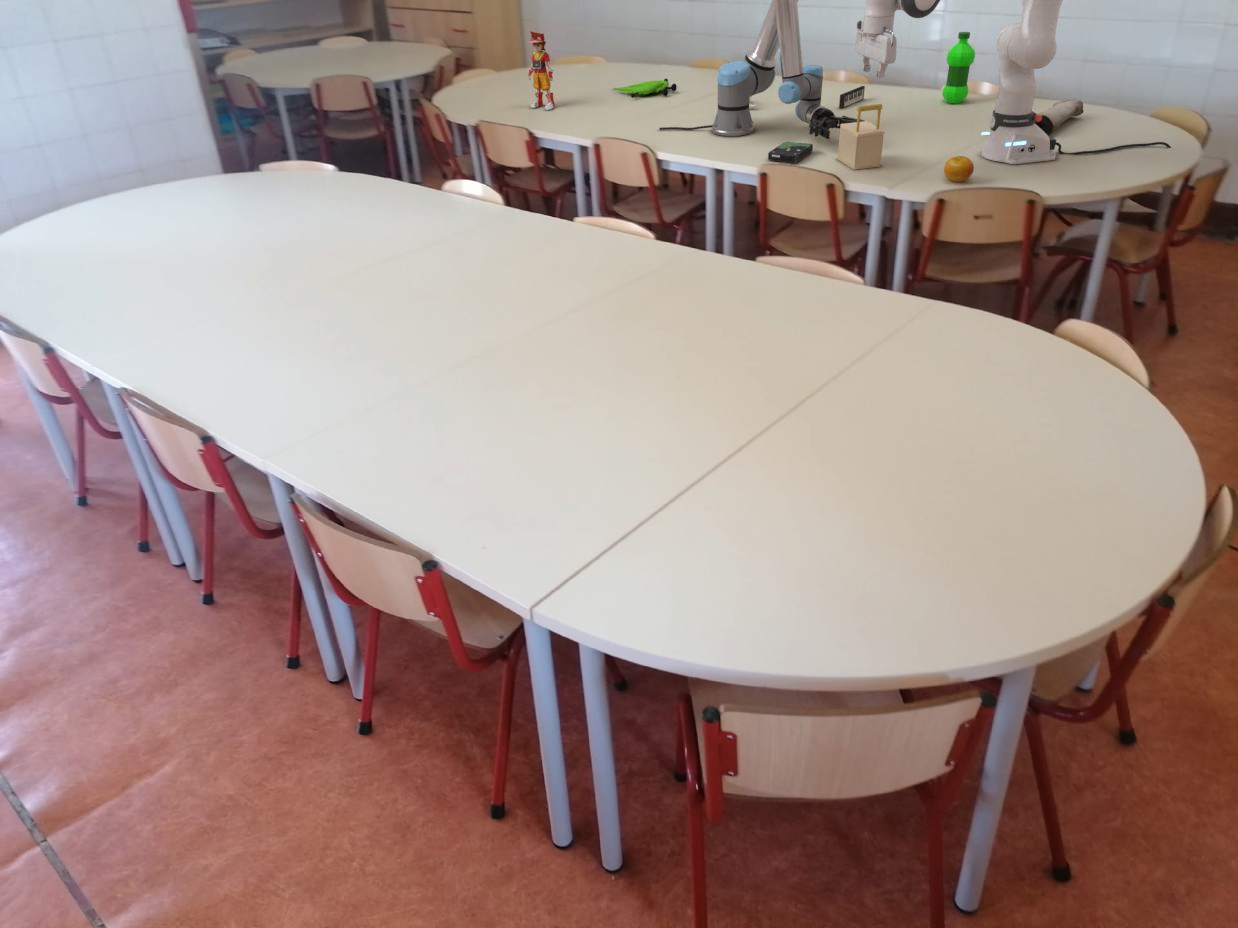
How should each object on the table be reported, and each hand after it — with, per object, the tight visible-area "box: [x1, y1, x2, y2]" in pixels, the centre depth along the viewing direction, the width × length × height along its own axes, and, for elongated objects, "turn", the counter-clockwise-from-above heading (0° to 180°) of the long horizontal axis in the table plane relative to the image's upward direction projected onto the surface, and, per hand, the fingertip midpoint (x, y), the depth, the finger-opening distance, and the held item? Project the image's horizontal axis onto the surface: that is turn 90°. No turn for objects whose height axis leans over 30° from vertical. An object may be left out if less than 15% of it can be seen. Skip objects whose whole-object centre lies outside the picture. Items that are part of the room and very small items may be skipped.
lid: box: [840, 103, 886, 137], centre depth 289 cm, size 13×9×9 cm
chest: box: [837, 127, 885, 171], centre depth 294 cm, size 13×9×10 cm
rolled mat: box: [1035, 99, 1084, 136], centre depth 319 cm, size 30×9×10 cm
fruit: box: [943, 155, 975, 183], centre depth 275 cm, size 8×8×8 cm
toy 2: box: [612, 78, 677, 99], centre depth 396 cm, size 28×5×30 cm
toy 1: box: [527, 31, 556, 111], centre depth 374 cm, size 12×9×30 cm
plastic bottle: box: [942, 31, 976, 104], centre depth 348 cm, size 10×10×25 cm
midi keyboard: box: [838, 85, 866, 109], centre depth 359 cm, size 18×1×5 cm, turn 138°
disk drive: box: [767, 141, 814, 164], centre depth 306 cm, size 10×3×15 cm
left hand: (847, 132), depth 303 cm, fingers open, 13 cm apart
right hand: (873, 74), depth 278 cm, fingers open, 8 cm apart
